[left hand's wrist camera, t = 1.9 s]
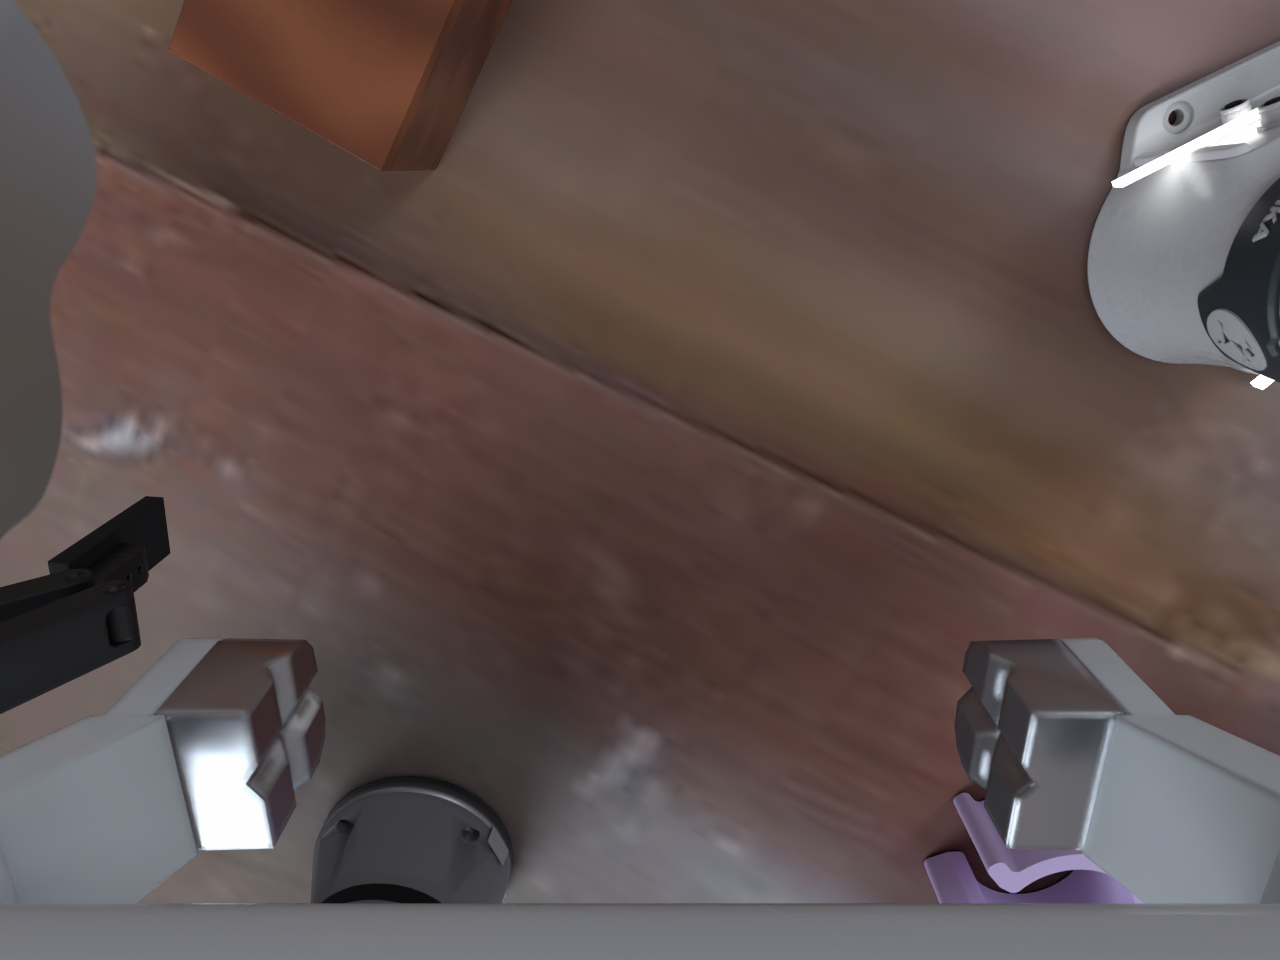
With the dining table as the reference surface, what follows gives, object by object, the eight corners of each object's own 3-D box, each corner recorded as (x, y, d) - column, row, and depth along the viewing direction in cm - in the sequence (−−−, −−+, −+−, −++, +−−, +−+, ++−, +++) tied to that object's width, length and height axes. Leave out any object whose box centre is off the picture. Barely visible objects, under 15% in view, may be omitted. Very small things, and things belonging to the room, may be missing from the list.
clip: (1207, 816, 66) (1269, 888, 59) (1137, 932, 70) (1188, 1010, 63) (968, 768, 64) (1004, 836, 58) (911, 889, 68) (940, 965, 62)
